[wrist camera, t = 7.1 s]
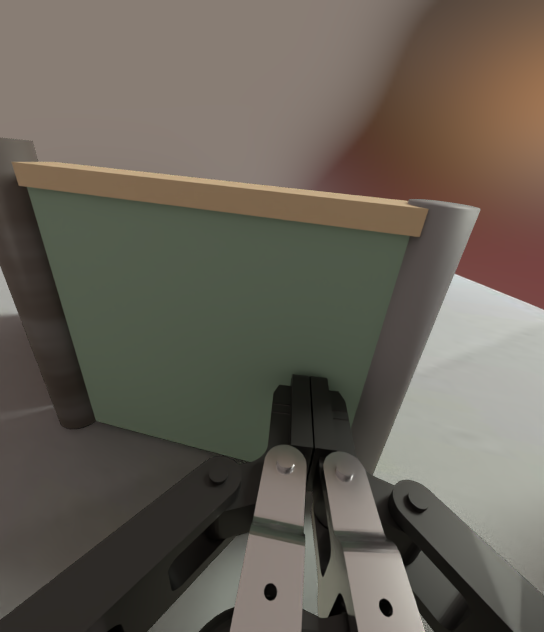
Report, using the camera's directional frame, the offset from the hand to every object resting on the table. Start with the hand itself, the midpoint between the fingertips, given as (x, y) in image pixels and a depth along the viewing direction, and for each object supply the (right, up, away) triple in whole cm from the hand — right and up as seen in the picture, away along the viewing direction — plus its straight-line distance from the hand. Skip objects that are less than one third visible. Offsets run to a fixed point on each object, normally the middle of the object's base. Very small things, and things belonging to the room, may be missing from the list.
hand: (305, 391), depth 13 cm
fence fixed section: (-18, 0, +11) cm, 21 cm away
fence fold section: (-4, -4, +4) cm, 7 cm away
